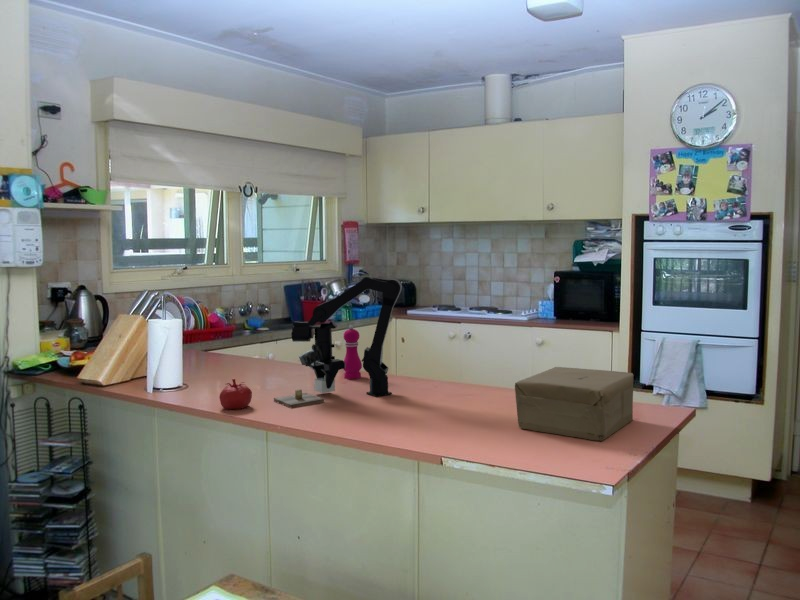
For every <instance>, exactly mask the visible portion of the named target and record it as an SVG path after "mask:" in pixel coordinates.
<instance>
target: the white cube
mask: <svg viewBox="0 0 800 600" xmlns="http://www.w3.org/2000/svg"><path fill="white" fill-rule="evenodd" d="M335 379H336V378H335ZM335 379H334V381H333V383H332V385H331V388H329V389H328V388H327V386H326V379H325V377H324V378H317V377H316V378H314V391H315V392H318V393H322V394H325V393H331V392H335V391H336V388H335V387H336V386H335V385H336V380H335Z"/></svg>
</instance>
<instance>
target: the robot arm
mask: <svg viewBox="0 0 800 600" xmlns="http://www.w3.org/2000/svg"><path fill="white" fill-rule="evenodd" d="M402 285H403V284H402V282H401V281H400V280H399V279H397V278H390V279H385V278H378V277H372V276H370V275H369V276H368V275H367V276H365V277H363V278H362V279H361V280H360V281H358V282H357V283H355V284H353V285H352V286H350V288H348V289H346V290H345V291H343V292H341V294H338V296H336V297H334V298H332V299H329V300H328V301H325V302H323V303H320V304H318V305H317V306H315V307H314V308H313V310H312V316H311V318H310V319H309V320H308V321H296V320H295V321H293V322H292V330H291V332H290V333H291V334H290V335H291V340H292V342H295V343H298V342H303V343H304V342H305V343H306V342H311V340H312V339H314V343H313V344H312V345H311V349H310V350H308V351H305V352H304V353H302V354H300V355H298V358H299V361H300V363H301V365H302V366H305V367H309V368H310V369H312V370H313V371H314V375H315V377H316V379H317V378H324V377H325V379H326V386H327V388H328V389H329V388H331V385H332V383H333V381H334V379H336V376H337V375H338V372H339V371H340V370H344V369H345V362H344V360H343V359H338V358H336V356H335V355H333V348H335V344H334V343H333V340H332V339H333V337H332V336H333V335H332V332H333V331H332V330H333V329H336V328H338V324H336V322H334V320H331V321H330V322H326V321H328V320H329V319H331V318H332V317H333V316H334V315H335V314H336V313H337V312H338V311H339V310H340V309H341V308H342V307H343V306H345V305H347V304H348V303H349V302H350V301H352V300H354V299H355V298H357V297H359V295H361V294H362V293H364V292H365V291H367V290H373V291H376V292H380V293H382V296H381V297H382V300H381V308H380V311H379V315H378V320H377V323H376V327H375V331H374V334H373V339H372V343H371V345H370V347H368V346H367V347H366V348H365V349H364V351H363V358H362V359H361V363H362V367H363V370H364V371H365V372H366V373H368V376H369V391H366V395H370V396H373V397H377V398H378V397H383V396H387V395H388V396H389V395H393V392H392V391H389V377H388V375H387V374H388V371H389V366H387V365H386V364H385V363H384V362H383V354H384V344H385V340H386V337H387V333H388V328H389V324H390V320H391V318H392V313H393V309H394V306H395V305H396V303H397V301H398V298H399V296H400V294H401V292H402V289H403V286H402ZM318 323H320V325H317V324H318Z"/></svg>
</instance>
